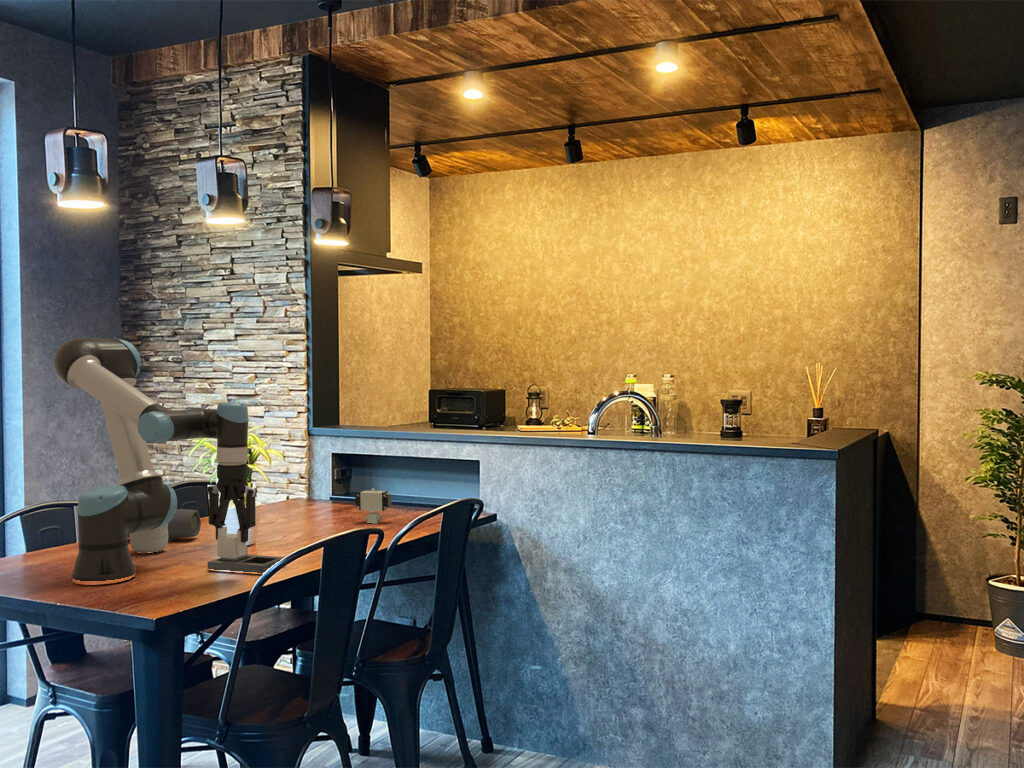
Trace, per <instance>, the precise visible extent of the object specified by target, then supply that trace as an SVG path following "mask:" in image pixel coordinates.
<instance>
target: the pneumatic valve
mask: <svg viewBox="0 0 1024 768" xmlns="http://www.w3.org/2000/svg"><path fill="white" fill-rule="evenodd" d="M392 500H393V499H392V495H391V494H389V490H376V489H375V488H371V490H362V491H359V492H358V493H356V495H355V497H354V502H355V503H354V504H355V506H356V507H357V508H358V511H362V512H363V511H367V512H368V513H367V514H366V515H365V517H364V520H365V522H366V524H368V523H372V524H371V525H377V524H379V523H380V522H382V520H383V518H382V517H383V515H382V514H381V513H380V512H385V511H386V510H388V509H389V508H391V506H392Z"/></svg>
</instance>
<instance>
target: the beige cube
mask: <svg viewBox="0 0 1024 768" xmlns="http://www.w3.org/2000/svg"><path fill="white" fill-rule="evenodd" d="M216 543H217V549H216V550H217V557H218V558H221V557H225V558H237V557H240V556H237V533H227V535H223V536H220V537H218V540H216ZM244 555H246V554H244ZM241 556H243V555H241Z"/></svg>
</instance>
